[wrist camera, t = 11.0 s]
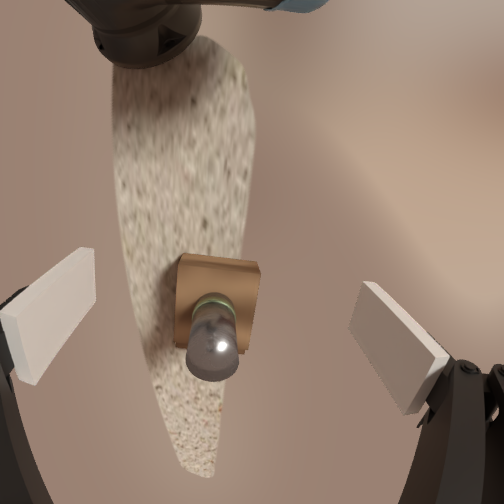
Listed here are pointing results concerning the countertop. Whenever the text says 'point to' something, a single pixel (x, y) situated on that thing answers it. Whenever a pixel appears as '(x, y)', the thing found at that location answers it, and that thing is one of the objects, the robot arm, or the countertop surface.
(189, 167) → the countertop surface
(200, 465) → the countertop surface
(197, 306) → the column
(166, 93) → the countertop surface
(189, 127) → the countertop surface
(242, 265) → the step block
